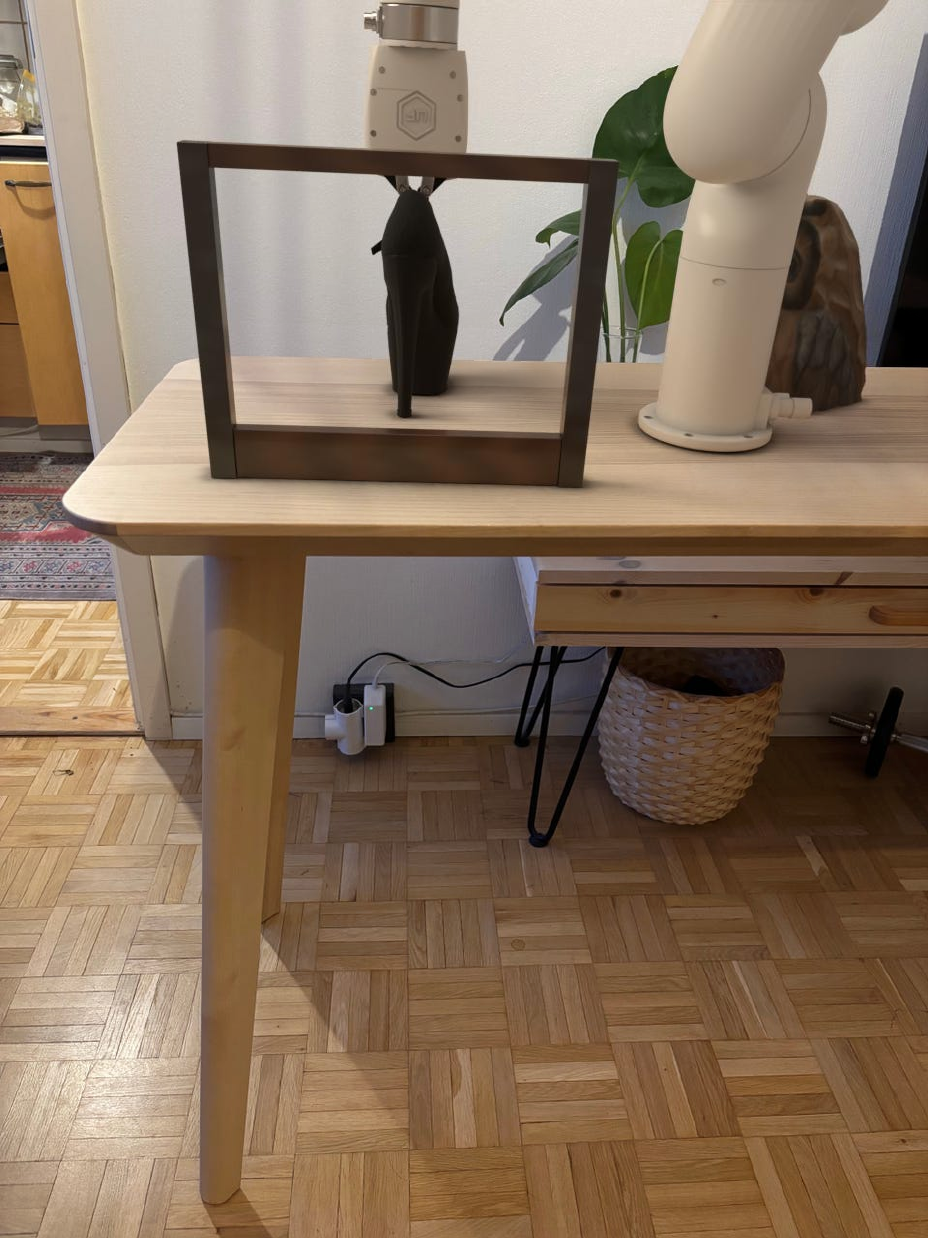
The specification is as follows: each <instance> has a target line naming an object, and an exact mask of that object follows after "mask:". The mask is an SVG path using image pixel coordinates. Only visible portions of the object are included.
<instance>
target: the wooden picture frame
mask: <svg viewBox="0 0 928 1238" xmlns="http://www.w3.org/2000/svg"><path fill="white" fill-rule="evenodd" d="M176 151H177V160H178V161H177V162H178V171H179V182H180V190H181V199H182V210H183V219H184V229H185V230H184V231H185V238H186V239H185V240H186V248H187V257H188V258H187V259H188V266H189V267H188V268H189V277H190V287H191V297H192V305H193V315H194V325H195V333H196V334H195V335H196V343H197V344H196V345H197V355H198V364H199V373H200V381H201V383H200V384H201V391H202V392H201V393H202V402H203V403H202V404H203V413H204V422H205V431H206V432H205V433H206V439H207V441H206V442H207V451H208V459H209V470H210V477H211V479H212V478H213V479H237V478H249V479H250V478H252V479H256V478H257V479H286V480H287V479H291V480H292V479H293V480H326V481H327V480H328V481H329V480H330V481H331V480H332V481H364V482H365V481H367V482H368V481H370V482H373V481H374V482H410V483H411V482H412V483H446V484H448V483H449V484H450V483H451V484H454V483H455V484H486V485H487V484H488V485H489V484H490V485H523V486H524V485H526V486H527V485H528V486H529V485H530V486H557V487H558V488H559V487H560V488H583V483H584V474H585V466H586V457H587V448H588V440H589V431H590V422H591V414H592V405H593V398H594V397H593V395H594V387H595V378H596V370H597V361H598V353H599V345H600V335H601V328H602V327H601V326H602V319H603V310H604V302H605V301H604V300H605V292H606V291H605V290H606V283H607V276H608V275H607V273H608V265H609V259H610V258H609V256H610V248H611V240H612V230H613V222H614V214H615V204H616V196H617V189H618V188H617V187H618V179H619V171H620V161H619V160H617V159H615V158H598V157H571V156H570V157H569V156H545V155H544V156H543V155H524V154H523V155H522V154H520V155H519V154H505V153H504V154H499V153H482V152H481V153H479V152H477V153H476V152H466V153H458V152H436V151H413V150H391V149H368V148H365V147H347V146H345V147H343V146H320V145H301V144H299V145H298V144H297V145H295V144H279V143H278V144H275V143H252V142H230V141H211V140H194V139H193V140H191V139H182V140H177V141H176ZM215 169H232V170H234V169H235V170H254V171H255V170H257V171H277V172H279V171H281V172H301V173H302V172H304V173H324V174H325V173H326V174H327V173H328V174H349V175H350V174H351V175H374V176H379V175H394V176H408V177H418V178H420V177H421V178H422V177H440V178H457V179H467V180H488V181H489V180H491V181H493V180H494V181H509V182H510V181H514V182H533V183H534V182H536V183H537V182H538V183H558V184H581V185H582V184H583V191H582V200H581V208H580V209H581V210H580V221H579V229H578V231H579V232H578V241H577V251H576V260H575V261H576V262H575V273H574V281H573V291H572V292H573V293H572V300H571V301H572V302H571V310H570V311H571V312H570V321H569V322H570V323H569V333H568V340H567V341H568V343H567V351H566V352H567V353H566V362H565V374H564V383H563V391H562V392H563V394H562V401H561V402H562V404H561V412H560V413H561V415H560V423H559V432H547V431H546V432H541V431H509V430H505V431H504V430H475V429H474V430H473V429H472V430H471V429H468V430H467V429H440V428H439V429H436V428H434V429H432V428H402V427H399V428H398V427H371V426H369V427H366V426H365V427H363V426H330V425H329V426H328V425H299V424H298V425H296V424H295V425H293V424H265V423H262V424H261V423H237V415H236V414H237V413H236V402H235V391H234V380H233V379H234V378H233V368H232V357H231V355H232V354H231V345H230V334H229V331H230V330H229V320H228V309H227V299H226V298H227V297H226V287H225V286H226V284H225V273H224V262H223V252H222V251H223V250H222V240H221V229H220V218H219V205H218V204H219V203H218V194H217V183H216V170H215Z"/></svg>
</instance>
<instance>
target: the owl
mask: <svg viewBox="0 0 928 1238" xmlns="http://www.w3.org/2000/svg"><path fill="white" fill-rule="evenodd" d="M862 279H863V278H862V264H861V256H860V248H859V244H858V241H857V238H856V236H855V233H854V231H853V228H852V227H851V224H850V222H849V221H848V218H847V216H846V214H845V212H844V211H843V209H842V208H841V207H840V206H839V204H838V203H836V202H834V201H832V200H830V199H828V198H826V197H824V196H820V195H816V194H815V195H813V194H808V193H807V196H806V199H805V203H804V207H803V211H802V215H801V219H800V223H799V227H798V232H797V236H796V241H795V245H794V250H793V255H792V260H791V264H790V266H789V271H788V276H787V280H786V285H785V290H784V295H783V299H782V304H781V309H780V314H779V319H778V323H777V328H776V333H775V338H774V342H773V347H772V352H771V357H770V361H769V366H768V371H767V376H766V380H765V385H764V386H765V387H766V388H768V389H769V390H770V391H771V392H772V393H789V396H790V398H810V399H811V400H812V412H811V413H813V412H816V411H826V410H828V409H833V408H835V407H846V406H850V405H851V404H853V403H854V404H855V403H859V402H862V401H863V399H862V397H863V396H862V394H863V390H864V388H865V385H866V381H867V374H866V368H867V361H868V360H867V347H868V343H867V342H868V333H867V332H868V326H867V321H866V312H865V305H864V291H863V281H862Z"/></svg>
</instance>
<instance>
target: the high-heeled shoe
mask: <svg viewBox="0 0 928 1238" xmlns="http://www.w3.org/2000/svg"><path fill="white" fill-rule="evenodd" d="M440 229H441V228H440V226H439V223H438V220H437V218H436V215H435V212H434V209H433V205H432V202H431V201H430V199H429V200H428V199H427V197H426V196H425V195H424V194H423V193H421V192H419V191H417V190H416V189H414V188H412V189H408V190H405V191H403V192H402V193H401V194H400V195H399V196H398V197H397V199H396V202H395V204H394V207H393V209H392V211H391V213H390V215H389V217H388V219H387V221H386V224H385V227H384V231H383V234H382V238H381V240H379V241H378V242H377V243H375V244H374V245H373V246H372V247H370V251H371V255H372V256H375V255H377V253H380V254H381V260H382V271H383V280H384V284H385V287H386V292H387V293H386V294H387V295H386V300H385V316H386V317H385V318H386V326H387V328H386V329H387V330H386V331H387V332H386V335H387V346H388V347H387V348H388V357H389V365H390V374H391V383H392V384H391V385H392V386H391V388H392V391H393V392H395V393H397V409H396V415H397V416H399V417H411V416H412V415H413V409H412V404H413V403H412V402H413V395H440V394H443V393H444V392H446V391H447V389H448V384H449V376H450V371H451V368H452V367H451V366H452V361H453V356H454V353H455V352H454V351H455V347H456V341H457V336H458V330H459V322H460V309H459V304H458V301H457V296H456V292H455V286H454V279H453V278H454V277H453V270H452V266H451V260H450V257H449V254H448V250H447V247H446V243H445V241H444V238H443V235H442V233H441V230H440Z"/></svg>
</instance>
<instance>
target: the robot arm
mask: <svg viewBox="0 0 928 1238" xmlns="http://www.w3.org/2000/svg"><path fill="white" fill-rule="evenodd" d="M889 1H890V0H708V2H707V4H706V6H705V8H704V11H703V12H702V15H701V17H700V19H699V21H698V24H697V25H696V28H695V30H694V32H693V34H692V36H691V38H690V40H689V42H688V44H687V47H686V48H685V51H684V53H683V55H682V57H681V60H680V61H679V64H678V66H677V68H676V71H675V73H674V76H673V78H672V80H671V83H670V86H669V88H668V92H667V95H666V99H665V104H664V108H663V109H664V110H663V119H662V122H663V123H662V124H663V125H662V126H663V127H662V129H663V136H664V141H665V145H666V149H667V151H668V153H669V155H670V157H671V159H672V160H673V162H674V164H675V165H676V166H677V167H678V168H679V170H681V171H682V172H683V173H684V174H685V175H687V176H688V177H690V178H691V179H693V180H695V182H694V186H693V189H692V192H691V195H690V200H689V204H688V207H687V212H686V215H685V221H684V225H683V231H682V237H681V244H680V250H679V255H678V262H677V268H676V275H675V282H674V288H673V294H672V301H671V307H670V314H669V320H668V327H667V335H666V340H665V347H664V354H663V361H662V367H661V373H660V380H659V387H658V394H657V400H656V401H655V402H651V403H649V404H646V405H644V406H643V407H642V408H640V410H639V412H638V418H637V424H638V427H639V428H640V429H641V430H642V431H643V432H644V433H645V434H647V435H648V436H650V437H651V438H654V439H656V440H658V441H660V442H664V443H667V444H669V445H673V446H677V447H681V448H686V449H691V450H697V451H704V452H705V451H706V452H717V453H718V452H720V453H725V452H726V453H734V452H746V451H751V450H756V449H758V448H761V447H764V446H765V445H767V444H768V443H769V442H770V440H772V434H773V425H772V423H771V422H775V421H777V419H778V418H788V419H797V420H799V419H800V420H808V419H809V418H810V417H811V415H812V413H813V412H812V400H811V399H810V398H790V396H789V393H772V392H771V391H770V390H769V389H768V388H766V387H765V386H764V385H765V380H766V376H767V371H768V366H769V361H770V357H771V352H772V347H773V342H774V338H775V333H776V328H777V323H778V319H779V314H780V309H781V304H782V299H783V295H784V290H785V285H786V280H787V276H788V271H789V266H790V264H791V260H792V255H793V250H794V245H795V241H796V236H797V232H798V227H799V223H800V219H801V215H802V211H803V207H804V203H805V199H806V196H807V194H808V192H809V188H810V185H811V182H812V178H813V175H814V172H815V170H816V169H815V168H816V165H817V161H818V159H819V155H820V152H821V149H822V146H823V140H824V136H825V132H826V127H827V118H828V98H827V93H826V88H825V84H824V82H823V79H822V76H821V74H820V71H821V70H822V68H823V66H824V64H825V62H826V61H827V59H828V57H829V55H830V54H831V52H832V50H833V49H834V47H835V45H836V43H837V41H838V40H839V38H840V37H843V36H846V35H847V36H848V35H850V34H853V33H854V32H855V33H856V32H857V31H859V30H860V29H862V28H863V27H865V26H866V25H868V24H869V23H870V22H872V21H873V20H874V19H875V18H876V17H877V16H878V15H879V14H880V13H881V12H882V11H883V10H884V9H885V8H886V6H887V4H888V3H889ZM460 6H461V0H379V5H378V7H379V8H378V9H376V10H375V11H373V10H372V12H364V14H363V28H364V30H371V31H372V32H375V33H376V34H377V35H378V38H379V39H378V40H379V41H378V42H379V43H378V44H371V46H370V50H369V56H368V62H367V70H366V71H367V72H366V82H365V83H366V84H365V100H364V101H365V103H364V126H363V127H364V129H363V130H364V133H363V134H364V135H363V136H364V148H368V149H391V150H413V151H436V152H458V153H467V150H468V137H469V75H468V73H469V72H468V62H467V54H466V50H459V27H460V25H459V24H460V8H461V7H460ZM378 176H380V177H382V178H385V179H386V180H387V182H388V183H389V184H390V186H392V188H393V189H394V190H395V191H396V192H397V195H399V196H400V194H401V193H402V192H403V191H405V190H408V189H413V188H412V186H411V185H410V181H409V180H410V179H409V176H394V175H378ZM457 179H458V178H440V177H421V182H420V186H419V187H417V190H416V191H419V192H421V193H423V194H424V195H425V196H426V197H427V199H428V200H429V201H430V197H431V196H432V195H433V193H435V192H436V190H438V188H439V187H440V186H442V185H443V183H445V182H447V181H452V180H457Z"/></svg>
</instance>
